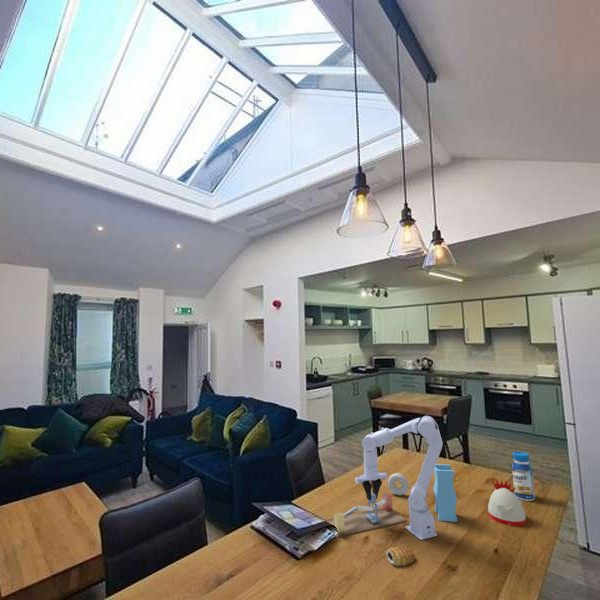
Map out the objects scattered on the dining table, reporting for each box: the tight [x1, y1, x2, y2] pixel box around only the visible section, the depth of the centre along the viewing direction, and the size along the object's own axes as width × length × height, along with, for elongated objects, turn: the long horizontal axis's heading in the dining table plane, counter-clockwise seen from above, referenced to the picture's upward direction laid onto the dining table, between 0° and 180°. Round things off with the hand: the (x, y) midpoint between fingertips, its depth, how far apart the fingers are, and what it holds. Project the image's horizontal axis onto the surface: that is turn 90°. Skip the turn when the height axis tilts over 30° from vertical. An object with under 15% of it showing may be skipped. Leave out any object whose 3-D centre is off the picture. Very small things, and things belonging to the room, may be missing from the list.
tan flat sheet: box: [324, 507, 408, 539], centre depth 144 cm, size 13×32×1 cm, turn 110°
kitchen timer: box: [487, 478, 527, 527], centre depth 146 cm, size 14×14×15 cm
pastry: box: [385, 546, 416, 567], centre depth 119 cm, size 9×7×4 cm
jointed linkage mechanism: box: [333, 492, 394, 535], centre depth 144 cm, size 5×32×6 cm, turn 123°
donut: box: [387, 472, 410, 496], centre depth 169 cm, size 10×4×10 cm, turn 68°
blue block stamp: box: [365, 492, 381, 523], centre depth 144 cm, size 4×6×10 cm, turn 20°
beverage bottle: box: [511, 451, 536, 502], centre depth 164 cm, size 8×8×20 cm
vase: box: [432, 463, 458, 523], centre depth 148 cm, size 8×8×20 cm
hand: (372, 498), depth 145 cm, fingers closed on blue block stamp, 2 cm apart
